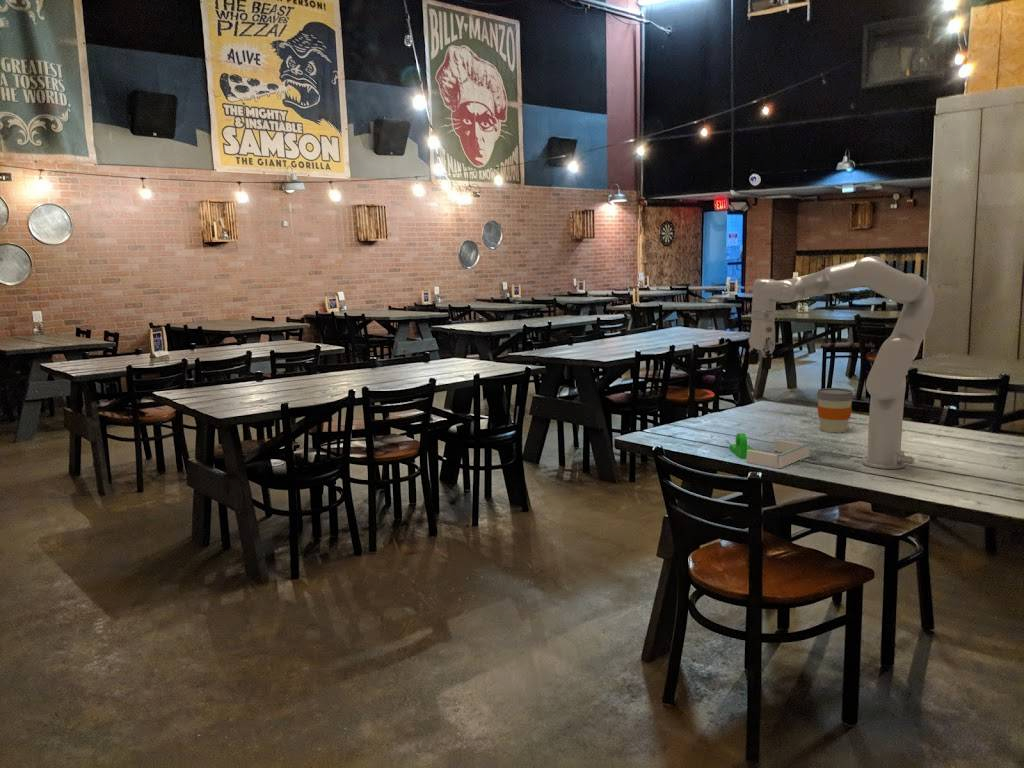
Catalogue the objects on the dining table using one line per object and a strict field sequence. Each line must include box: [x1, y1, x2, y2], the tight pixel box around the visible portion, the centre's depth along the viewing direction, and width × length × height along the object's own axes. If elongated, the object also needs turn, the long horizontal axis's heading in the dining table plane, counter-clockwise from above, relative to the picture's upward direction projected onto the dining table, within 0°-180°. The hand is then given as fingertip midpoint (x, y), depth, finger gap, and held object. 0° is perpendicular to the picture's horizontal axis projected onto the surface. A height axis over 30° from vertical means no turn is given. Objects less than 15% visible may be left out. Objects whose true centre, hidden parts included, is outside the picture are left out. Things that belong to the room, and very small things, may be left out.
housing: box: [745, 439, 811, 469], centre depth 257 cm, size 12×19×4 cm, turn 134°
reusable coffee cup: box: [816, 387, 854, 433], centre depth 294 cm, size 13×12×15 cm
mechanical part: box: [729, 432, 757, 460], centre depth 266 cm, size 12×6×8 cm, turn 2°
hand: (759, 366), depth 266 cm, fingers open, 9 cm apart
